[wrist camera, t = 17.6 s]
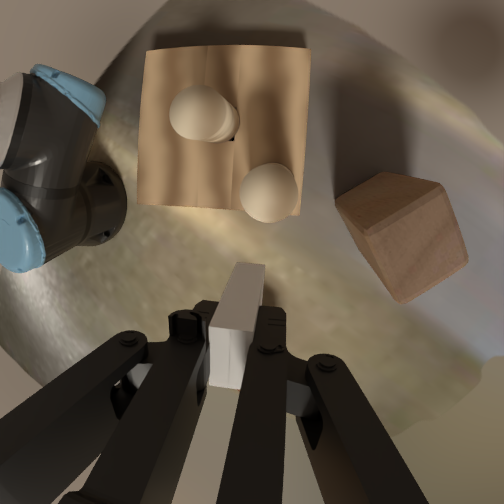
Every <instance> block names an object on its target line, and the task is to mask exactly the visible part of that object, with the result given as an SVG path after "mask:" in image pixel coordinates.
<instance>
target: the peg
mask: <svg viewBox="0 0 504 504" xmlns="http://www.w3.org/2000/svg"><path fill="white" fill-rule="evenodd" d="M169 117H170V122H171V125H172V127H173V128H174V130H175V131H176V132H177V133H178V134H179V135H181V136H182V137H185V138H187V139H192V140H199V141H205V142H210V143H216V144H219V143H224V142H227V141H229V140H230V139H232V138H233V137H234V136H235V135H236V133H237V131H238V129H239V126H240V116H239V113H238V111H237V110H236V108H235V107H234V106H233V105H231V104H230V103H229V102H228V101H227V100H226V99H225V98H223V97H222V96H221V95H220V94H219V93H218V92H217V91H216V90H214V89H213V88H211V87H209V86H206V85H193V86H190V87H187V88H185V89H183V90H182V91H181V92H179V93H178V94H177V95H176V97H175V98H174V100H173V101H172V104H171V107H170V112H169Z"/></svg>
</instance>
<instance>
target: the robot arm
mask: <svg viewBox="0 0 504 504" xmlns="http://www.w3.org/2000/svg"><path fill="white" fill-rule="evenodd" d="M105 104H106V96H105V94H104V92H103V91H102V90H101V89H99V88H98V87H96V86H94V85H92V84H90V83H88V82H86V81H84V80H82V79H79V78H77V77H75V76H72V75H70V74H67V73H65V72H62V71H59V70H56V69H53V68H52V67H48V66H45V65H42V64H36V65H34V67H33V68H32V69H31V70H30V74H26V73H21V72H17V73H15V74H14V75H12V76H11V77H9V78H8V79H7V80H5V81H4V82H0V169H4V170H3V175H2V181H1V187H0V263H1V264H2V265H3V266H4V267H5V268H6V269H8V270H10V271H12V272H15V273H25V272H27V271H29V270H32V269H34V268H38V267H41V266H42V265H43V264H45V263H47V262H48V261H50V260H52V259H54V258H55V257H57V256H59V255H61V254H62V253H64V252H66V251H68V250H70V249H71V248H73V247H75V246H96V245H100V244H103V243H105V242H106V241H108V240H110V239H112V238H113V237H114V236H115V235H116V234H117V233H118V232H119V231H120V229H121V227H122V225H123V223H124V220H125V217H126V211H127V199H126V193H125V189H124V186H123V184H122V182H121V180H120V178H119V177H118V175H117V174H116V173H115V172H114V170H112V169H111V168H110V167H109V166H107V165H105V164H103V163H101V162H96V161H90V162H87V158H88V155H89V152H90V149H91V146H92V143H93V140H94V137H95V134H96V131H97V129H98V128H99V127H100V119H101V116H102V113H103V110H104V108H105ZM264 274H265V265H262V264H252V263H241V262H237V263H236V265H235V267H234V270H233V272H232V274H231V277H230V279H229V281H228V283H227V286H226V288H225V290H224V292H223V295H222V297H221V299H220V302H216V301H207V300H202V301H201V302H199V303H198V304H196V305H195V307H194V309H193V310H178V311H175V312H173V313H171V314H170V315H169V316H168V319H169V333H170V336H169V338H168V339H167V341H165V342H147V337H146V336H145V334H143V333H141V332H138V331H132V330H131V331H130V330H129V331H123V332H120V333H118V334H116V335H115V336H113V337H112V338H110V339H109V340H108V341H106V342H105V343H103V344H102V345H101V346H99V347H98V348H97V349H95V350H94V351H92V352H91V353H90V354H88V355H87V356H85V357H84V358H83V359H81V360H80V361H79V362H77V363H76V364H74V365H73V366H72V367H70V368H69V369H68V370H66V371H65V372H63V373H62V374H61V375H59V376H58V377H57V378H55V379H54V380H52V381H51V382H50V383H48V384H47V385H46V386H44V387H43V388H42V389H40V390H39V391H37V392H36V393H35V394H33V395H32V396H31V397H29V398H28V399H27V400H25V401H24V402H23V403H21V404H20V405H18V406H17V407H16V408H15V409H13V410H12V411H10V412H9V413H8V414H6V415H5V416H4V417H3V418H1V419H0V504H51V503H52V502H53V501H54V500H55V499H56V498H57V497H58V496H59V495H60V494H61V493H62V492H63V491H64V490H65V489H66V488H67V487H68V486H69V485H70V484H71V483H72V482H73V481H74V480H75V479H76V478H77V477H78V476H79V475H80V474H81V473H82V472H83V471H84V470H85V469H86V468H87V467H88V466H89V465H90V464H91V463H92V462H93V461H94V460H95V459H96V458H97V457H98V456H99V454H101V455H100V457H99V458H98V460H97V462H96V464H95V466H94V467H93V469H92V471H91V473H90V475H89V477H88V478H87V480H86V482H85V484H84V486H83V487H82V488H81V489H80V490H79V491H72V492H68V493H67V494H65V495H64V496H63V497H62V499H61V500H60V501H59V503H58V504H171V503H172V500H173V497H174V493H175V490H176V487H177V484H178V481H179V478H180V474H181V472H182V469H183V465H184V462H185V459H186V456H187V453H188V450H189V447H190V444H191V441H192V438H193V435H194V431H195V428H196V425H197V422H198V419H199V416H200V413H201V410H202V407H203V404H204V400H205V397H206V394H207V389H206V388H207V386H206V384H207V381H208V378H209V385H211V386H218V387H225V388H232V389H240V394H239V399H238V404H237V409H236V413H235V418H234V423H233V428H232V432H231V438H230V442H229V446H228V451H227V456H226V461H225V465H224V470H223V475H222V479H221V484H220V488H219V493H218V497H217V501H216V504H282V491H283V474H284V453H285V429H286V412H287V413H290V414H293V415H296V421H297V424H298V427H299V430H300V433H301V436H302V439H303V442H304V445H305V448H306V450H307V453H308V457H309V459H310V462H311V465H312V468H313V471H314V474H315V477H316V479H317V483H318V485H319V488H320V491H321V494H322V497H323V500H324V503H325V504H429V503H428V501H427V500H426V498H425V496H424V494H423V492H422V491H421V489H420V487H419V486H418V484H417V482H416V480H415V479H414V477H413V475H412V474H411V472H410V470H409V468H408V467H407V465H406V463H405V462H404V460H403V458H402V456H401V455H400V453H399V451H398V450H397V448H396V447H395V445H394V443H393V441H392V440H391V438H390V436H389V435H388V433H387V431H386V430H385V428H384V426H383V425H382V423H381V421H380V420H379V418H378V416H377V415H376V413H375V411H374V410H373V408H372V406H371V405H370V403H369V401H368V400H367V398H366V397H365V395H364V393H363V392H362V390H361V388H360V387H359V385H358V383H357V382H356V380H355V379H354V377H353V375H352V374H351V372H350V370H349V369H348V367H347V366H346V364H345V363H344V362H343V361H342V359H340V358H338V357H336V356H334V355H330V354H317V355H314V356H312V357H310V358H309V360H308V361H305V360H302V359H299V358H296V357H295V356H293V355H291V354H290V353H289V352H288V350H287V347H286V313H285V311H284V310H283V309H282V308H280V307H270V306H262V297H263V285H264ZM119 380H120V383H119V384H118V385H116V386H114V385H115V384H116V383H117V382H118V381H119Z"/></svg>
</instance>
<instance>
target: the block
mask: <svg viewBox="0 0 504 504" xmlns="http://www.w3.org/2000/svg"><path fill="white" fill-rule="evenodd" d="M335 206H336V208H337V210H338V212H339V214H340V215H341V217H342V219H343V221H344V223H345V225H346V226H347V228H348V230H349V232H350V234H351V236H352V238H353V240H354V241H355V243H356V245H357V247H358V249H359V251H360V252H361V253H362V255H363V256H364V257H365V259H366V260H367V262H368V263H369V264H370V266H371V267H372V268H373V270H374V271H375V273H376V274H377V275H378V277H379V278H380V280H381V281H382V283H383V284H384V285H385V287H386V288H387V290H388V291H389V293H390V294H391V296H392V297H393V298H394V300H395V301H397V302H398V303H399V304H405V303H408V302H409V301H411V300H413V299H414V298H416V297H418V296H419V295H421V294H422V293H424V292H426V291H427V290H429V289H431V288H432V287H434V286H435V285H437V284H438V283H440V282H441V281H443V280H445V279H446V278H448V277H449V276H451V275H452V274H454V273H455V272H457V271H458V270H460V269H461V268H463V267H464V266H465V265H466V264H467V263H468V254H467V250H466V247H465V244H464V241H463V237H462V234H461V231H460V228H459V225H458V223H457V220H456V217H455V214H454V211H453V209H452V206H451V203H450V201H449V198H448V196H447V193H446V191H445V189H444V187H443V186H442V185H441V184H440V183H437V182H433V181H429V180H424V179H420V178H415V177H410V176H405V175H400V174H395V173H390V172H381V173H379V174H377V175H375V176H374V177H372V178H370V179H368V180H367V181H365V182H363V183H362V184H360V185H358V186H356V187H355V188H353V189H351V190H349V191H348V192H346V193H344V194H343V195H341V196H339V197H338V198H337V199H336V200H335Z"/></svg>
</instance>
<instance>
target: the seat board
mask: <svg viewBox="0 0 504 504" xmlns="http://www.w3.org/2000/svg"><path fill="white" fill-rule="evenodd" d="M310 62H311V49H305V48H295V47H281V46H262V45H211V46H192V47H179V48H168V49H159V50H151V51H147V52H146V60H145V68H144V77H143V86H142V97H141V109H140V123H139V141H138V171H137V204H148V205H167V206H184V207H200V208H214V209H228V210H241V211H246V212H247V213H248V214H249V215H250V216H251V217H252V218H254V219H256V220H258V221H261V222H266V223H272V222H277V221H280V220H283V219H284V218H286V217H287V216H289V215H298V216H299V214H300V204H301V193H302V182H303V170H304V158H305V145H306V132H307V117H308V101H309V83H310ZM193 85H206V86H209V87H211V88H213V89H214V90H216V91H217V92H218V93H219V94H220V95H221V96H222V97H223V98H225V99H226V100H227V101H228V102H229V103H230V104H231V105H233V106H234V107H235V108H236V110H237V111H238V113H239V116H240V126H239V129H238V131H237V133H236V135H235V140H234V141H227V142H224V143H219V144H216V143H210V142H205V141H199V140H192V139H187V138H185V137H182V136H181V135H179V134H178V133H177V132H176V131H175V130H174V128H173V127H172V125H171V122H170V117H169V112H170V107H171V104H172V101H173V100H174V98H175V97H176V95H177V94H178V93H179V92H181V91H182V90H183V89H185V88H187V87H190V86H193Z"/></svg>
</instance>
